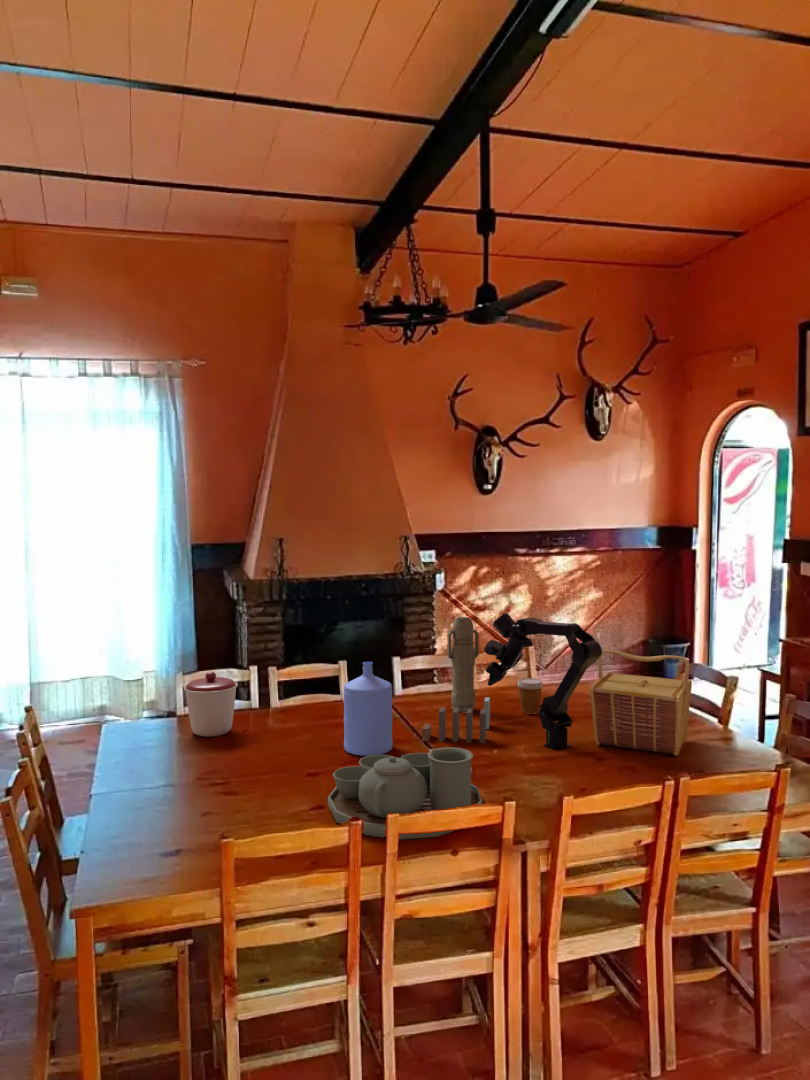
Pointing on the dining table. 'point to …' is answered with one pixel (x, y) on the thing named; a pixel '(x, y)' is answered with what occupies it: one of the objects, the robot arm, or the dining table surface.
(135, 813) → the dining table surface
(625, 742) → the picnic basket
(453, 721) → the domino
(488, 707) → the teal domino
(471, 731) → the domino
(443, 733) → the domino
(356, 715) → the water jug
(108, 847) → the dining table surface
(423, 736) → the end block
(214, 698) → the canister
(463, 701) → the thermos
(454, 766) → the tea set
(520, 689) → the disposable coffee cup
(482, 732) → the domino
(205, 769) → the dining table surface
